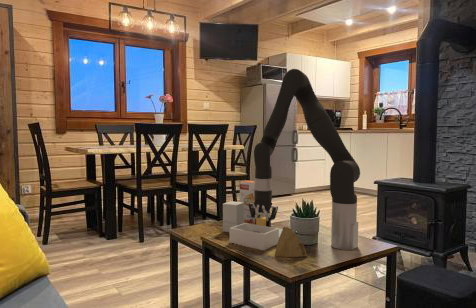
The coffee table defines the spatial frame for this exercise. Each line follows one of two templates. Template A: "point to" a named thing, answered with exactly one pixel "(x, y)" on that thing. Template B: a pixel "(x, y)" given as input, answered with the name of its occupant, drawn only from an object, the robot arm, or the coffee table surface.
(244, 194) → the cracker box
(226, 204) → the supplement box
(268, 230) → the tub
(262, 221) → the lid
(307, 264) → the coffee table surface
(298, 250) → the rock
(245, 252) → the coffee table surface
